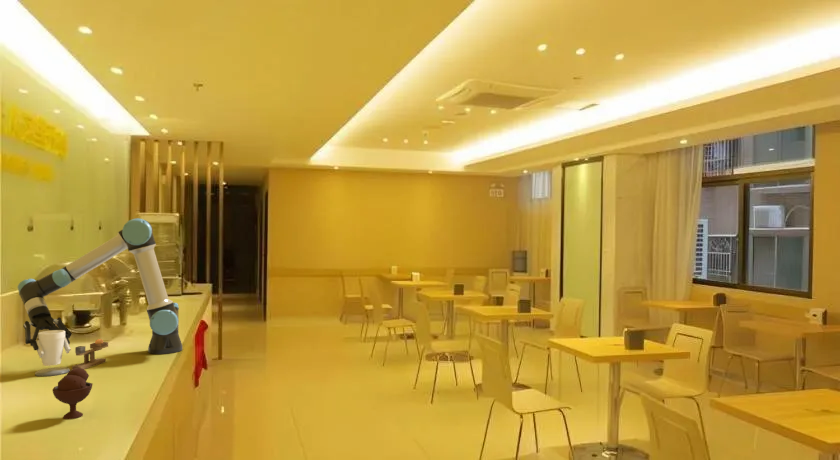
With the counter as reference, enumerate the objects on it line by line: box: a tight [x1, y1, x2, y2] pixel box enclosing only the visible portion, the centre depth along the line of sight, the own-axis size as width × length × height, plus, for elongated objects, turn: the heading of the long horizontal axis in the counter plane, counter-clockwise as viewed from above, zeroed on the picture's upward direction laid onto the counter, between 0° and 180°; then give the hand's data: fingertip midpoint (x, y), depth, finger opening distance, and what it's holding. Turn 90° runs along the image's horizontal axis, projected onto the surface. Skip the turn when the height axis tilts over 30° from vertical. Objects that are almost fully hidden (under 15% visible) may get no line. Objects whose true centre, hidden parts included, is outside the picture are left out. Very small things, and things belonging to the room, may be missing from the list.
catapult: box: [71, 341, 109, 370], centre depth 256 cm, size 5×16×9 cm, turn 170°
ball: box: [94, 338, 104, 344], centre depth 262 cm, size 3×3×3 cm
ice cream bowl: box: [52, 368, 94, 420], centre depth 188 cm, size 11×11×15 cm
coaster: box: [34, 366, 71, 377], centre depth 244 cm, size 12×12×1 cm
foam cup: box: [37, 330, 65, 367], centre depth 243 cm, size 10×9×13 cm
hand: (55, 353), depth 242 cm, fingers closed on foam cup, 9 cm apart
